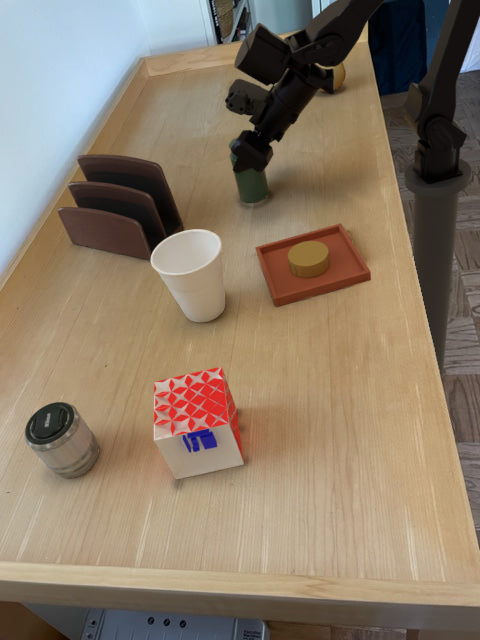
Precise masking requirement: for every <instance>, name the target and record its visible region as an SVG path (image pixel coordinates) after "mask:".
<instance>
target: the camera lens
mask: <svg viewBox="0 0 480 640" xmlns="http://www.w3.org/2000/svg"><path fill="white" fill-rule="evenodd" d="M24 441H25V443H26V444H27V445H28V446H29V447H30V449H31V450H32V452H34V453H35V454H36V456H37V457H38V458H39V459H40V460H41V461H42V462H43V463H44V465H45V467H47V469H48V470H49V471H51V472H53V474H55V475H57V476H59V477H61V478H63V479H74V478H79V477H80V476H82V475H85V474H86V473H87V472H88V471H89V470H91V468H92V467H93V466H94V465H95V463H96V462H97V460H98V457H99V450H100V446H99V444H98V441H97V439H96V436H95V434H94V432H93V430H92V429H91V427H90V426H89V425H88V424H87V422H86V421H85V419H84V418H83V417H82V415H81V413H80V412H79V411H78V409H77V407H75V406H74V405H73V404H71V403H69V402H66V401H65V402H64V401H56V402H51V403H49V404H46V405H43V406H42V407H41V408H39V409H38V410H36V411H35V412H34V413H33V414H32V415H31V417H30V418H29V419H28V421H27V423H26V425H25V429H24Z"/></svg>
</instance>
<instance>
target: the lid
mask: <svg viewBox="0 0 480 640" xmlns="http://www.w3.org/2000/svg"><path fill="white" fill-rule="evenodd" d="M288 263H289V268H290V270H291V272H292V273H293V274H294V275H296V276H298V277H302V278H312V277H316V276H319V275H321V274H322V273H324V272H325V271H326V270H327V269H328V267H329V264H330V256H329V252H328V248H327V246H326V245H324V244H323V243H321V242H317V241H305V242H301V243H299V244H297V245H295V246H293V247H292V248H291V249H290V251H289V253H288Z"/></svg>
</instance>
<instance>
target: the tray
mask: <svg viewBox="0 0 480 640" xmlns="http://www.w3.org/2000/svg"><path fill="white" fill-rule="evenodd" d="M305 241H317V242H321V243H323V244H324V245H326V246H327V248H328V252H329V256H330V264H329V267H328V269H327V270H326V271H325V272H324V273H322V274H321V275H319V276H316V277H312V278H302V277H298V276H296V275H294V274H293V273H292V272H291V270H290V268H289V263H288V253H289V251H290V249H291V248H292V247H293V246H295V245H297V244H299V243H301V242H305ZM254 249H255V253H256V256H257V259H258V262H259V265H260V268H261V270H262V273H263V276H264V279H265V281H266V284H267V287H268V289H269V293H270V296H271V298H272V300H273V303H274V307H280V306H283V305H287V304H291V303H294V302H298V301H301V300H305V299H309V298H312V297H316V296H320V295H324V294H327V293H331V292H334V291H337V290H341V289H345V288H349V287H352V286H356V285H359V284H362V283H366V282H370V281H372V273H371V270H370V268H369V267H368V265H367V263H366V261H365V260H364V258H363V257H362V255H361V253H360V251H358V249H357V247H356V245H355V244H354V242H353V241H352V239H351V237H350V236H349V234H348V232H347V231H346V229H345V227H344V226H343V224H342V223H341V222H340V223H337V224H333V225H329V226H326V227H323V228H319V229H314V230H311V231H308V232H305V233H300V234H298V235H294V236H291V237H287V238H284V239H283V238H282V239H280V240H276V241H272V242H269V243H265V244H262V245H259V246H255V247H254Z"/></svg>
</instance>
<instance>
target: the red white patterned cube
mask: <svg viewBox="0 0 480 640" xmlns="http://www.w3.org/2000/svg"><path fill="white" fill-rule="evenodd" d="M239 423H240V422H239V415H238V408H237V406H236V403H235V400H234V397H233V394H232V391H231V388H230V386H229V383H228V380H227V377H226V374H225V371H224V369H223V366H218V367H213V368H208V369H204V370H200V371H195V372H191V373H187V374H183V375H178V376H173V377H170V378H165V379H160V380H157V381H153V442H154V444H155V446H156V447H157V450H158V451H159V453H160V454H161V456H162V458H163V460H164V461H165V464H166V466H168V469H169V470H170V473H171V474H172V476H173V477H174V480H181V479H186V478H189V477H194V476H199V475H203V474H204V475H205V474H208V473H213V472H217V471H222V470H226V469H230V468H234V467H240V466H244V465H245V458H244V451H243V445H242V438H241V429H240V424H239Z"/></svg>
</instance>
